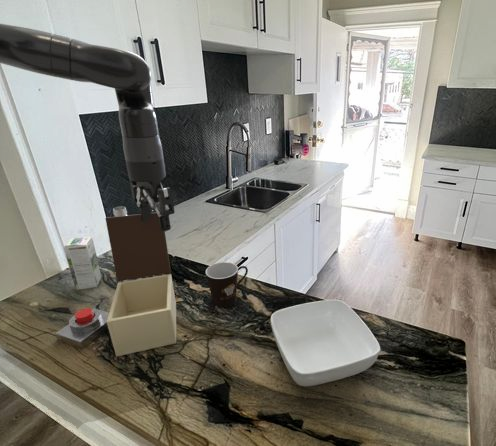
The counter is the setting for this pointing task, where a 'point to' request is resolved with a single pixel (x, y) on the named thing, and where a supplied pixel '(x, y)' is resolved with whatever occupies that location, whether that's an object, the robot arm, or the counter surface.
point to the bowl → (323, 341)
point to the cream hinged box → (143, 315)
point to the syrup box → (83, 262)
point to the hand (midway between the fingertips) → (156, 225)
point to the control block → (84, 330)
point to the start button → (84, 316)
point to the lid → (137, 246)
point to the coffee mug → (223, 282)
